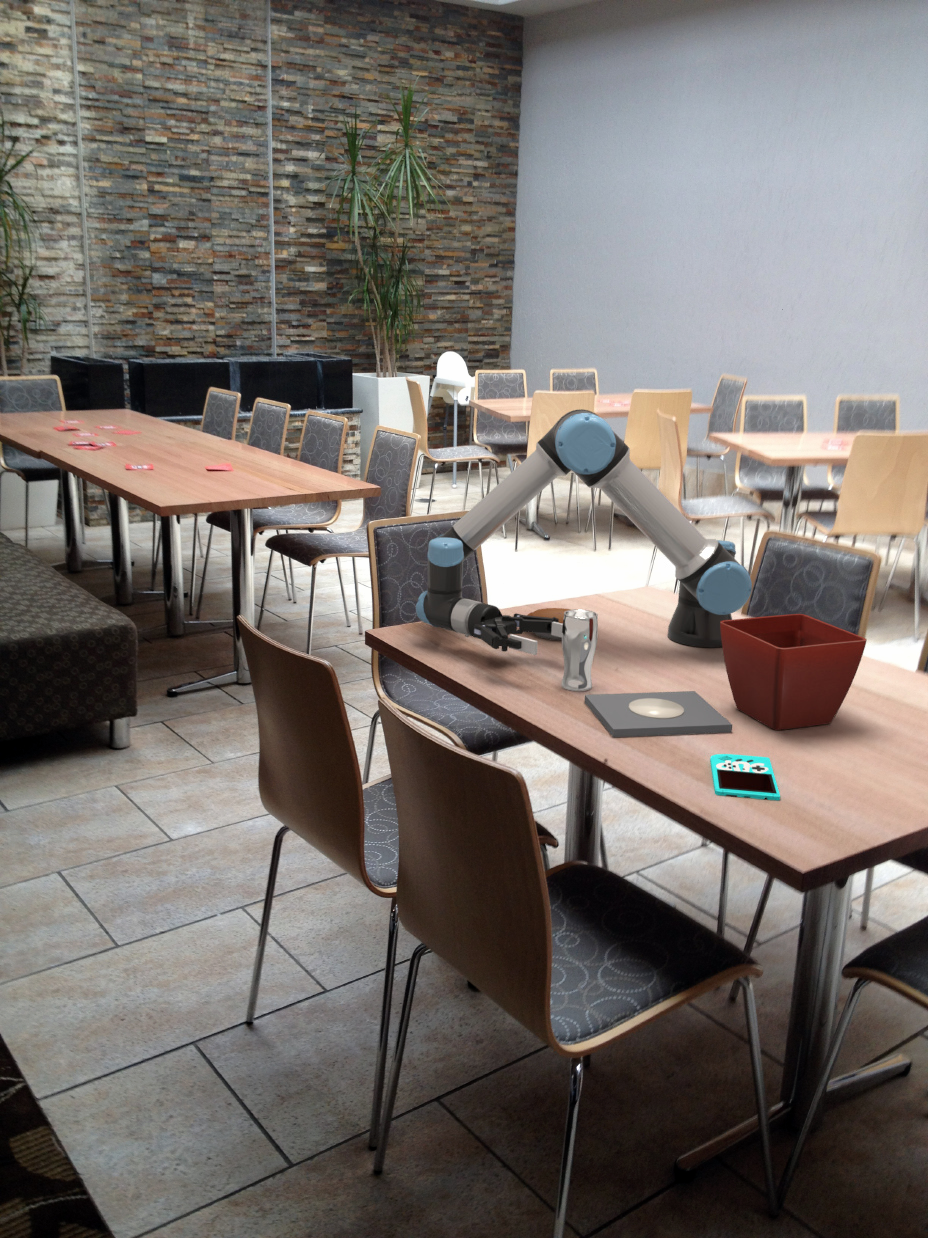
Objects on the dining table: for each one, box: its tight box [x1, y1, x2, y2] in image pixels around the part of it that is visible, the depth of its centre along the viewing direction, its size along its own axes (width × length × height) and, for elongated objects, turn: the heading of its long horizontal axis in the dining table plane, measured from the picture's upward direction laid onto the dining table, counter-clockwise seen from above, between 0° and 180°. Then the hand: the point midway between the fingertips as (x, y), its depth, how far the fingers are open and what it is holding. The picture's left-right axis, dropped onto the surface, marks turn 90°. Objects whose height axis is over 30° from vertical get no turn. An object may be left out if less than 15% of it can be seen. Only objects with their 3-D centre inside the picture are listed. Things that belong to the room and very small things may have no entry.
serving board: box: [583, 690, 733, 738], centre depth 201 cm, size 22×18×2 cm
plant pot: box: [720, 613, 868, 731], centre depth 202 cm, size 19×19×17 cm
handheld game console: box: [709, 753, 781, 802], centre depth 176 cm, size 10×16×1 cm, turn 171°
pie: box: [527, 607, 572, 641], centre depth 252 cm, size 15×16×5 cm
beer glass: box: [560, 608, 599, 692], centre depth 215 cm, size 7×7×15 cm
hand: (557, 641), depth 217 cm, fingers open, 13 cm apart
